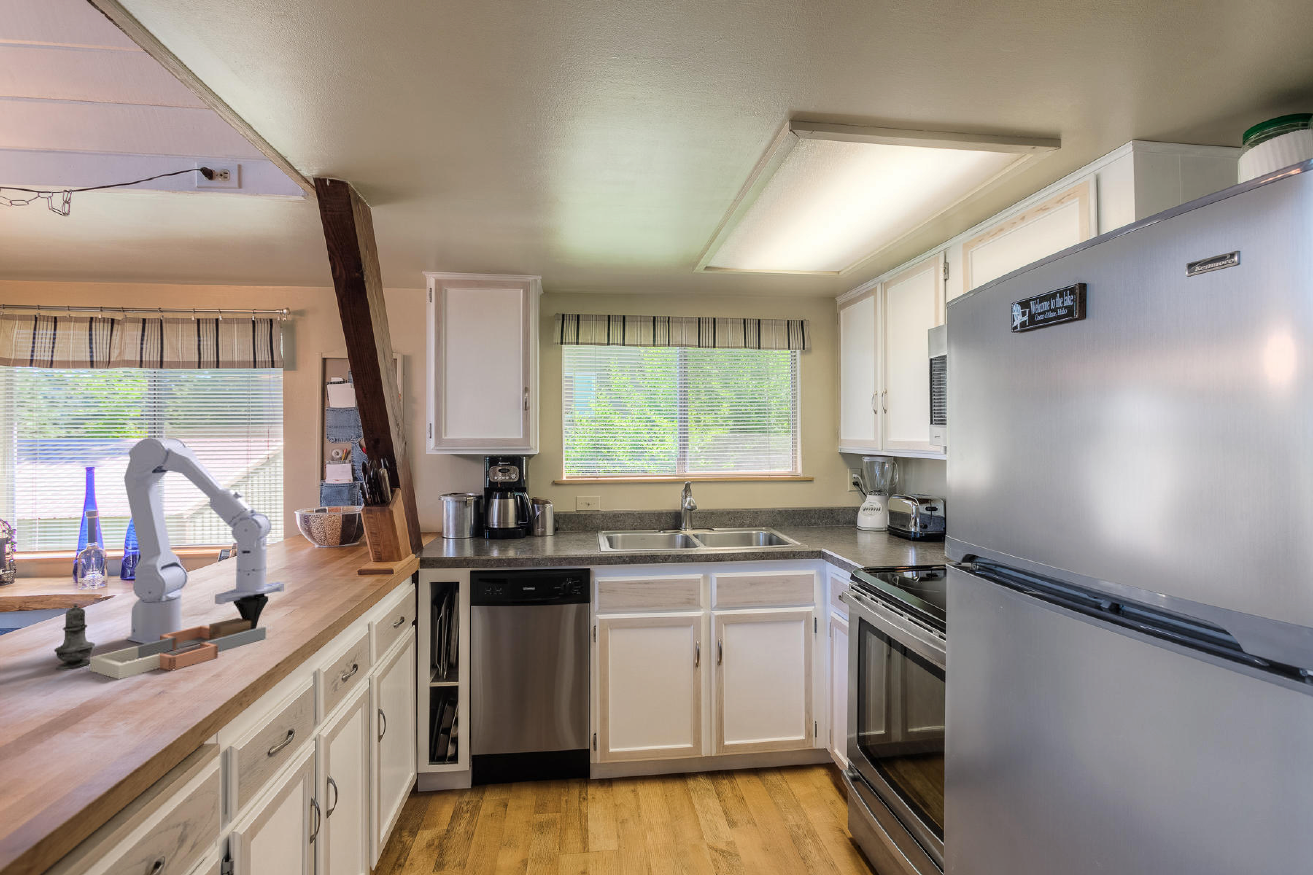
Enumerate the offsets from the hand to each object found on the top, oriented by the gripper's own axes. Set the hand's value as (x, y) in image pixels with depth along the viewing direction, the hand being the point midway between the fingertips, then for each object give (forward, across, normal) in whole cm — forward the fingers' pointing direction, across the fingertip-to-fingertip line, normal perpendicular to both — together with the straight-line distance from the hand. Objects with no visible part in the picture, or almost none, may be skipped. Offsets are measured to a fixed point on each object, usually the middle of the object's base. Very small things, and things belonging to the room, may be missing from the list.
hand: (250, 629), depth 146 cm
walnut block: (+1, -4, 0) cm, 5 cm away
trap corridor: (+1, -14, 0) cm, 14 cm away
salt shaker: (+2, -27, +11) cm, 30 cm away
